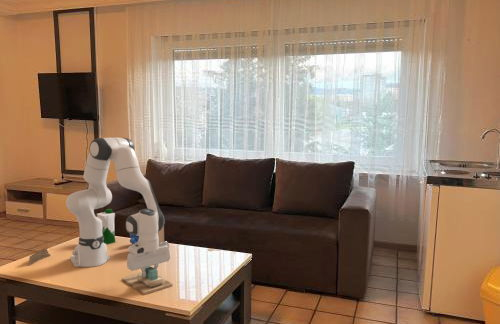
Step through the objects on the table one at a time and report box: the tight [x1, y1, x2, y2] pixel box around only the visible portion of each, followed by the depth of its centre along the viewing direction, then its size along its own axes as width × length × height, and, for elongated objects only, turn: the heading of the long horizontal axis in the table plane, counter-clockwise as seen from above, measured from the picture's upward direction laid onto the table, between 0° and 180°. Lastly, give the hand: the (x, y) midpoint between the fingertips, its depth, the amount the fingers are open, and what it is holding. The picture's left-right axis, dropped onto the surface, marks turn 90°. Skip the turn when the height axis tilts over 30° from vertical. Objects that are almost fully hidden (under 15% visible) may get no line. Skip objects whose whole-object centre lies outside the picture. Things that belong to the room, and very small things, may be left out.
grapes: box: [129, 234, 139, 246], centre depth 247 cm, size 12×7×12 cm, turn 154°
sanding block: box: [137, 266, 163, 288], centre depth 190 cm, size 12×6×6 cm, turn 43°
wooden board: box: [121, 271, 174, 296], centre depth 192 cm, size 22×14×1 cm, turn 42°
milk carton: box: [96, 208, 116, 245], centre depth 251 cm, size 9×9×20 cm
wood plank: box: [28, 247, 51, 266], centre depth 221 cm, size 15×2×5 cm, turn 172°
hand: (149, 274), depth 189 cm, fingers closed on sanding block, 3 cm apart
